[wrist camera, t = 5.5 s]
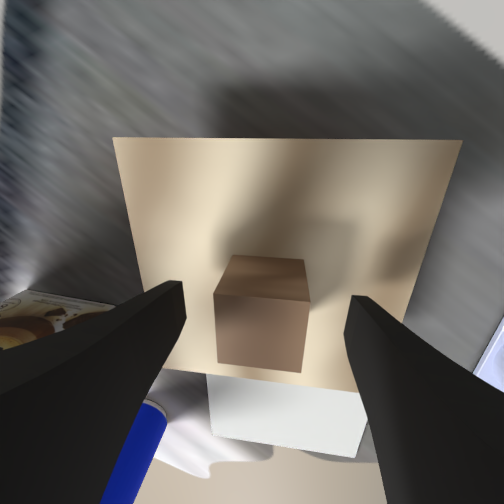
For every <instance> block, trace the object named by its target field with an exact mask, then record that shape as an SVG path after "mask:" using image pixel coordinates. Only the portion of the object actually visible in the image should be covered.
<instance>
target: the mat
mask: <svg viewBox="0 0 504 504" xmlns="http://www.w3.org/2000/svg"><path fill="white" fill-rule="evenodd" d="M206 378H207V388H208V399H209V409H210V420H211V430H212V435H214V436H220V437H226V438H233V439H239V440H245V441H252V442H258V443H264V444H270V445H277V446H284V447H289V448H296V449H302V450H308V451H314V452H321V453H327V454H333V455H340V456H346V457H352V458H355V456H356V453H357V450H358V447H359V444H360V441H361V438H362V435H363V431H364V428H365V425H366V422H367V419H368V418H367V415H366V412H365V409H364V406H363V403H362V400H361V397H360V394H359V393H355V392H347V391H340V390H332V389H324V388H316V387H308V386H301V385H293V384H285V383H277V382H269V381H262V380H254V379H246V378H238V377H230V376H223V375H215V374H207V373H206Z"/></svg>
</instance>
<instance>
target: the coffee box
mask: <svg viewBox="0 0 504 504" xmlns="http://www.w3.org/2000/svg"><path fill="white" fill-rule="evenodd" d="M115 307H116V306H114V305H109V304H104V303H98V302H92V301H87V300H81V299H76V298H70V297H64V296H59V295H53V294H48V293H43V292H37V291H32V290H24V291H22V292H20V293H18V294H16V295H14V296H13V297H11V298H9V299H7V300H5V301H3V302H1V303H0V351H2V350H5V349H8V348H11V347H15V346H18V345H21V344H24V343H28V342H30V341H33V340H36V339H39V338H42V337H45V336H48V335H51V334H53V333H56V332H59V331H62V330H65V329H67V328H70V327H72V326H75V325H77V324H80V323H82V322H85V321H87V320H89V319H91V318H94V317H96V316H98V315H100V314H102V313H104V312H107V311H109V310H111V309H113V308H115Z"/></svg>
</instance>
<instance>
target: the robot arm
mask: <svg viewBox="0 0 504 504" xmlns="http://www.w3.org/2000/svg"><path fill="white" fill-rule="evenodd" d="M186 319H187V315H186V307H185V299H184V291H183V283H182V281H176V280H168V281H166V282H163V283H161V284H159V285H157V286H155V287H153V288H151V289H150V290H148V291H146V292H144V293H142V294H140V295H138V296H136V297H135V298H133V299H131V300H129V301H127V302H125V303H123V304H121V305H119V306H117V307H115V308H113V309H111V310H109V311H107V312H104V313H102V314H100V315H98V316H96V317H94V318H91V319H89V320H87V321H85V322H82V323H80V324H77V325H75V326H72V327H70V328H67V329H65V330H62V331H59V332H56V333H53V334H51V335H48V336H45V337H42V338H39V339H36V340H33V341H30V342H28V343H24V344H21V345H18V346H15V347H11V348H8V349H5V350H2V351H0V504H100V502H101V499H102V496H103V494H104V491H105V489H106V486H107V484H108V481H109V479H110V477H111V474H112V472H113V469H114V467H115V464H116V462H117V459H118V457H119V455H120V452H121V450H122V448H123V445H124V443H125V441H126V438H127V436H128V434H129V432H130V429H131V427H132V425H133V423H134V420H135V418H136V416H137V414H138V412H139V410H140V407H141V405H142V403H143V401H144V399H145V397H146V395H147V393H148V391H149V389H150V387H151V386H152V384H153V382H154V380H155V379H156V377H157V375H158V374H159V372H160V370H161V368H162V367H163V365H164V363H165V362H166V360H167V358H168V356H169V355H170V353H171V351H172V349H173V348H174V346H175V344H176V342H177V341H178V339H179V337H180V334H181V332H182V330H183V327H184V324H185V322H186ZM343 336H344V341H345V347H346V352H347V357H348V360H349V363H350V367H351V370H352V373H353V376H354V379H355V382H356V385H357V388H358V391H359V394H360V397H361V400H362V403H363V406H364V409H365V412H366V415H367V418H368V422H369V425H370V429H371V432H372V437H373V441H374V445H375V450H376V454H377V458H378V463H379V467H380V472H381V476H382V481H383V486H384V490H385V495H386V499H387V504H504V317H503V319H502V321H501V323H500V325H499V326H498V328H497V330H496V332H495V334H494V335H493V337H492V339H491V341H490V343H489V345H488V346H487V348H486V350H485V352H484V354H483V355H482V357H481V359H480V361H479V363H478V365H477V366H476V368H475V370H474V372H473V374H472V373H471V372H469V371H468V370H466V369H465V368H463V367H462V366H460V365H458V364H457V363H455V362H454V361H452V360H451V359H449V358H448V357H446V356H445V355H443V354H442V353H441V352H439V351H438V350H436V349H435V348H434V347H432V346H431V345H429V344H428V343H427V342H425V341H424V340H423V339H421V338H420V337H419V336H417V335H416V334H415V333H413V332H412V331H411V330H409V329H408V328H407V327H406V326H404V325H403V324H402V323H401V322H399V321H398V320H397V319H396V318H394V317H393V316H392V315H391V314H390V313H388V312H387V311H386V310H385V309H383V308H382V307H381V306H380V305H379V304H377V303H376V302H375V301H374V300H372V299H371V298H369V297H368V296H361V295H351V300H350V305H349V309H348V314H347V319H346V323H345V328H344V332H343Z"/></svg>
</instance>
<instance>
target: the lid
mask: <svg viewBox="0 0 504 504" xmlns="http://www.w3.org/2000/svg"><path fill="white" fill-rule="evenodd" d="M112 138H113V143H114V148H115V152H116V157H117V162H118V167H119V172H120V177H121V182H122V187H123V192H124V196H125V201H126V206H127V211H128V216H129V221H130V226H131V231H132V236H133V241H134V245H135V250H136V255H137V260H138V265H139V270H140V275H141V280H142V285H143V289H144V292H146V291H148V290H150V289H151V288H153V287H155V286H157V285H159V284H161V283H163V282H166V281H168V280H176V281H182V283H183V291H184V299H185V307H186V315H187V319H186V322H185V324H184V327H183V330H182V332H181V334H180V337H179V339H178V341H177V342H176V344H175V346H174V348H173V349H172V351H171V353H170V355H169V356H168V358H167V360H166V362H165V363H164V365H163V367H162V368H168V369H176V370H184V371H191V372H199V373H207V374H215V375H223V376H230V377H238V378H246V379H254V380H262V381H269V382H277V383H285V384H293V385H301V386H308V387H316V388H324V389H332V390H340V391H347V392H355V393H359V391H358V388H357V385H356V382H355V379H354V376H353V373H352V370H351V367H350V363H349V360H348V357H347V352H346V347H345V341H344V336H343V332H344V328H345V323H346V319H347V314H348V309H349V305H350V300H351V295H361V296H368V297H369V298H371V299H372V300H374V301H375V302H376V303H377V304H379V305H380V306H381V307H382V308H383V309H385V310H386V311H387V312H388V313H390V314H391V315H392V316H393V317H394V318H396V319H397V320H398V321H399V322H401V323H402V321H403V318H404V315H405V312H406V309H407V306H408V303H409V300H410V297H411V294H412V291H413V288H414V285H415V282H416V279H417V276H418V273H419V270H420V267H421V264H422V261H423V258H424V255H425V252H426V249H427V246H428V243H429V240H430V237H431V234H432V231H433V229H434V226H435V223H436V220H437V217H438V214H439V211H440V208H441V205H442V202H443V199H444V196H445V193H446V190H447V187H448V184H449V181H450V178H451V175H452V172H453V169H454V166H455V163H456V160H457V157H458V154H459V151H460V148H461V145H462V142H463V140H395V139H256V138H118V137H112Z"/></svg>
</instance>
